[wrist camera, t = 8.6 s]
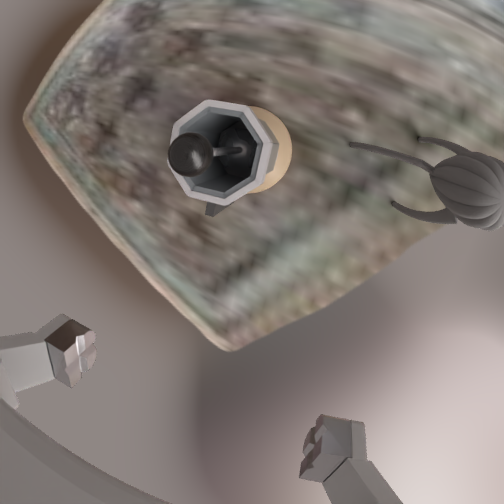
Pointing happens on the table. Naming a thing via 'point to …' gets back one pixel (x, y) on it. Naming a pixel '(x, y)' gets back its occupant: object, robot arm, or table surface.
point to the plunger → (212, 152)
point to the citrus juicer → (458, 186)
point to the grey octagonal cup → (218, 176)
